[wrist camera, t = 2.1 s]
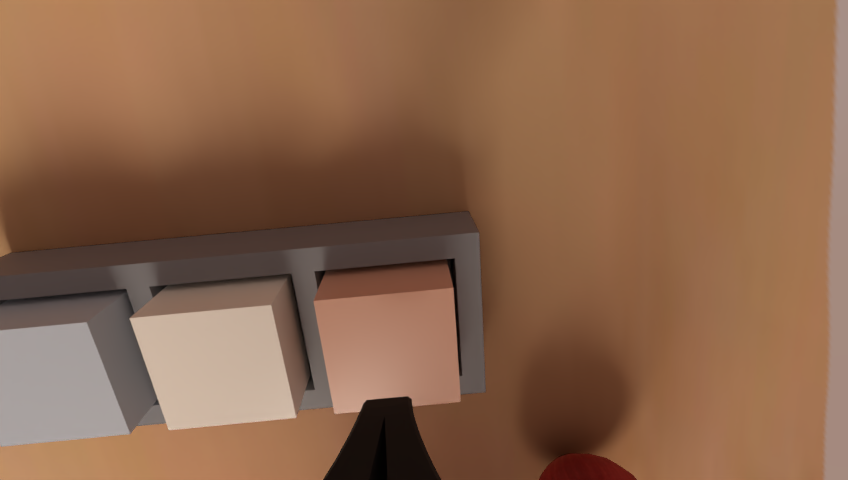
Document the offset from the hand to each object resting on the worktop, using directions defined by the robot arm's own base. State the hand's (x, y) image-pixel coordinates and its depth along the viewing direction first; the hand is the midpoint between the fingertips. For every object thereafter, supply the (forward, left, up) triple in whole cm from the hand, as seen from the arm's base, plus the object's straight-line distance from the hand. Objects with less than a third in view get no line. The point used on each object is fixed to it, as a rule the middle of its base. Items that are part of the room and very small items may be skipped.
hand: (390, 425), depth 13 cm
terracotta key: (0, 0, -7) cm, 7 cm away
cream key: (-6, -3, -7) cm, 9 cm away
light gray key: (-11, -7, -6) cm, 15 cm away
